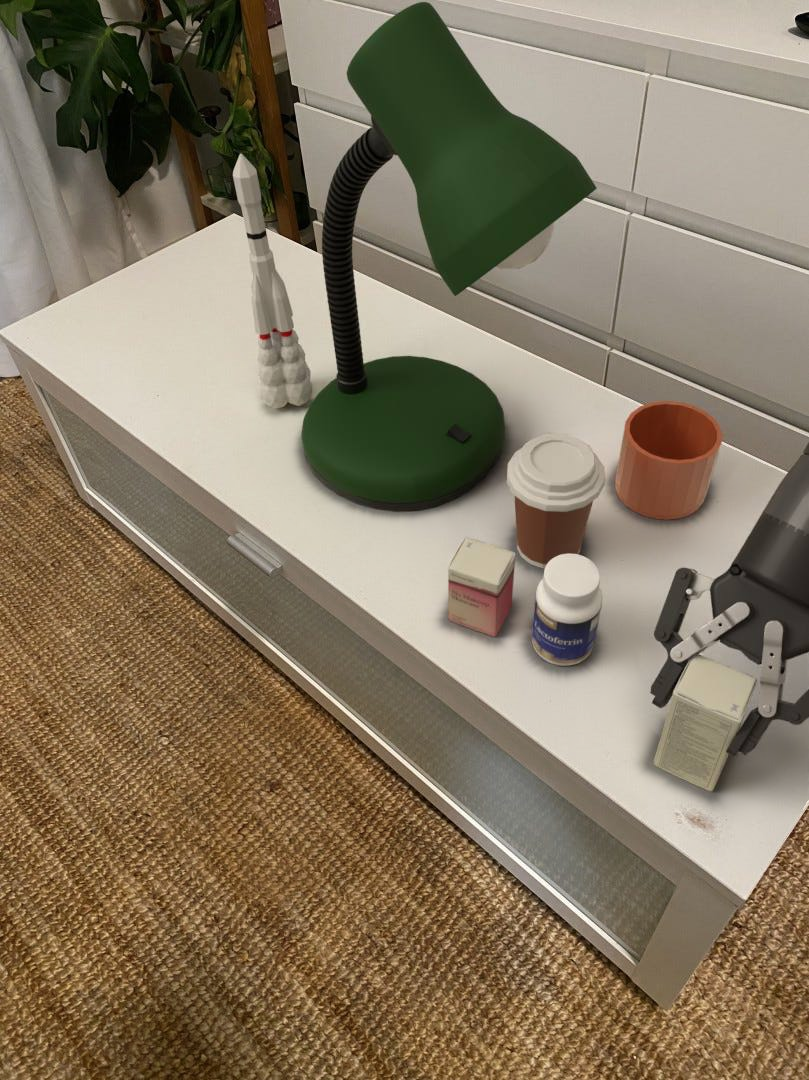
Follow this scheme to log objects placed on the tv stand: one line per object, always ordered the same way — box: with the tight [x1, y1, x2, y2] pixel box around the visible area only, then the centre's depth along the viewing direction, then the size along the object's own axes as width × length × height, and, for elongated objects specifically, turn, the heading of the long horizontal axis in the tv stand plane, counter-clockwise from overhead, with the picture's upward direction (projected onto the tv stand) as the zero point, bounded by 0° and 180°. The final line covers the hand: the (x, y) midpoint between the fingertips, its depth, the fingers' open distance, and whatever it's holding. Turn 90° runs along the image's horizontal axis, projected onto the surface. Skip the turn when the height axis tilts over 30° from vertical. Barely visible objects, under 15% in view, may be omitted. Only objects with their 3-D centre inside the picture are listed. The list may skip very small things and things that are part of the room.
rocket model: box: [232, 153, 313, 410], centre depth 94 cm, size 7×7×30 cm
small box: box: [447, 536, 517, 637], centre depth 79 cm, size 5×4×8 cm
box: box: [653, 653, 758, 792], centre depth 67 cm, size 5×4×11 cm
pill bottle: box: [531, 554, 603, 667], centre depth 76 cm, size 6×6×10 cm
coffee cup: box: [506, 433, 606, 569], centre depth 83 cm, size 9×9×12 cm
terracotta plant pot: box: [614, 400, 723, 521], centre depth 89 cm, size 9×9×8 cm
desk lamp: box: [300, 1, 598, 512], centre depth 81 cm, size 31×23×45 cm
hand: (695, 728), depth 65 cm, fingers closed on box, 5 cm apart
